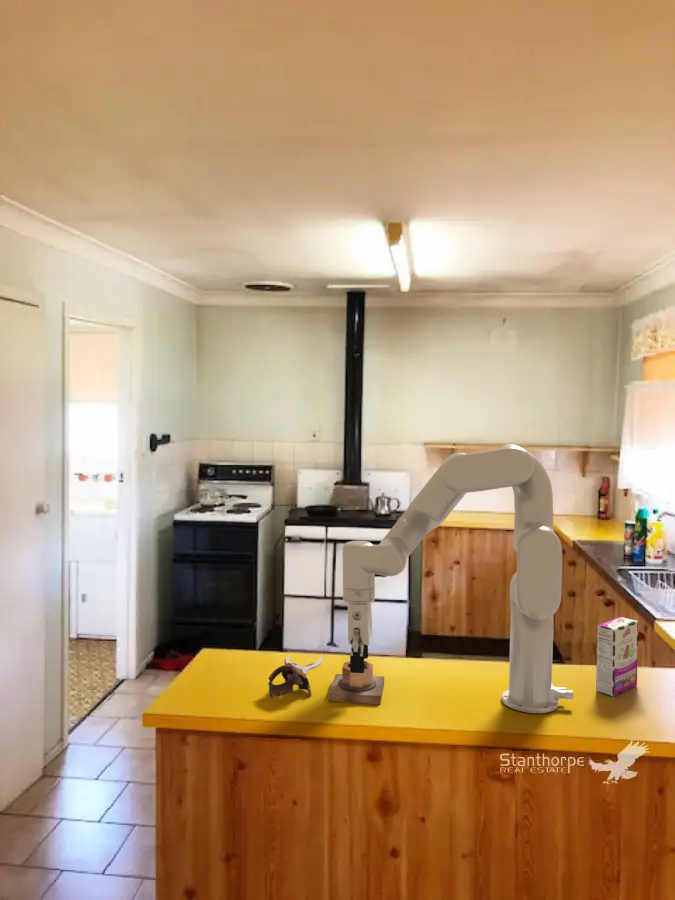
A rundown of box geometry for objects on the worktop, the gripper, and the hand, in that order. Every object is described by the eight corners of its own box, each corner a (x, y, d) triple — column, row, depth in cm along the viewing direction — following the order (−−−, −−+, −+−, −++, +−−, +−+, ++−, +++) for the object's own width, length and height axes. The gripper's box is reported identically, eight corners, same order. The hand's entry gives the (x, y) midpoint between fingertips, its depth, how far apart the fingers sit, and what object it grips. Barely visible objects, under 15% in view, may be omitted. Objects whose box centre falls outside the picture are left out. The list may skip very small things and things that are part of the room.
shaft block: (384, 684, 177) (384, 646, 176) (380, 704, 165) (381, 663, 164) (335, 681, 178) (335, 644, 178) (328, 701, 166) (328, 660, 166)
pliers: (323, 653, 195) (319, 673, 180) (323, 659, 195) (318, 680, 180) (286, 652, 196) (279, 672, 181) (286, 658, 196) (279, 679, 181)
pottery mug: (317, 703, 166) (302, 677, 163) (280, 722, 166) (264, 696, 163) (309, 672, 178) (295, 647, 175) (275, 689, 177) (260, 665, 174)
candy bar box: (618, 680, 181) (620, 616, 180) (637, 686, 177) (639, 620, 176) (594, 691, 174) (596, 624, 173) (613, 697, 170) (615, 629, 169)
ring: (373, 677, 174) (373, 661, 174) (370, 688, 168) (371, 671, 167) (344, 676, 175) (344, 659, 175) (341, 687, 168) (341, 670, 168)
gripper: (371, 604, 161) (372, 679, 162) (377, 585, 178) (377, 653, 179) (338, 603, 162) (339, 677, 163) (347, 584, 179) (348, 652, 180)
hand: (359, 665), depth 171 cm, fingers open, 9 cm apart
